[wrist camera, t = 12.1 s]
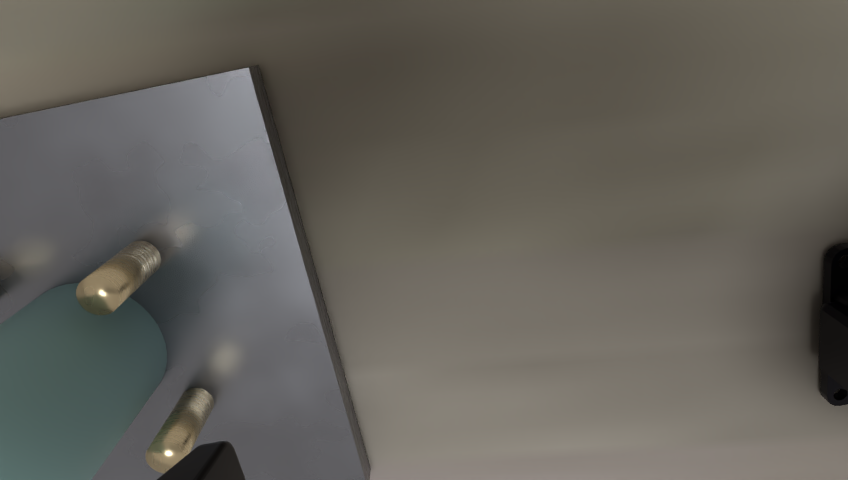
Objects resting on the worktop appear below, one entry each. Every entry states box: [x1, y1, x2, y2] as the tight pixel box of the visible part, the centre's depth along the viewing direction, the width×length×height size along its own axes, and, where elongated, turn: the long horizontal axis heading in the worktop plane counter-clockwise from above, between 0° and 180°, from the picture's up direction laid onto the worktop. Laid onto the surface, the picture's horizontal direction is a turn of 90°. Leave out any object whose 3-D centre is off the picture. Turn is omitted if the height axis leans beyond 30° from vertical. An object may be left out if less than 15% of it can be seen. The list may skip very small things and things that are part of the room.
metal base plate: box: [0, 65, 371, 480], centre depth 20 cm, size 16×16×4 cm
